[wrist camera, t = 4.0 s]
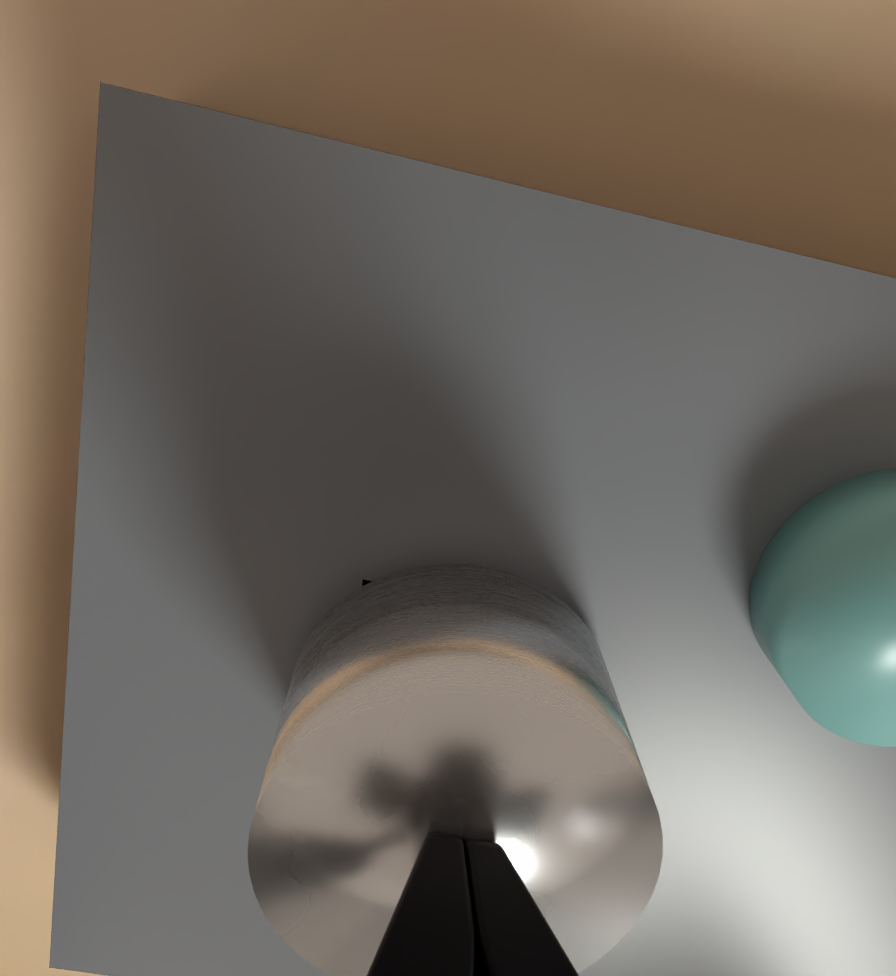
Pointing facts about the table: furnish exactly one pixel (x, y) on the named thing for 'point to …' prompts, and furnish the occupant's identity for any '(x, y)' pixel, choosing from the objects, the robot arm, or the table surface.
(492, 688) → the knob
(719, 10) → the table surface
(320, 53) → the table surface
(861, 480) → the teal flat disc
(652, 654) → the panel
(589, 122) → the table surface
